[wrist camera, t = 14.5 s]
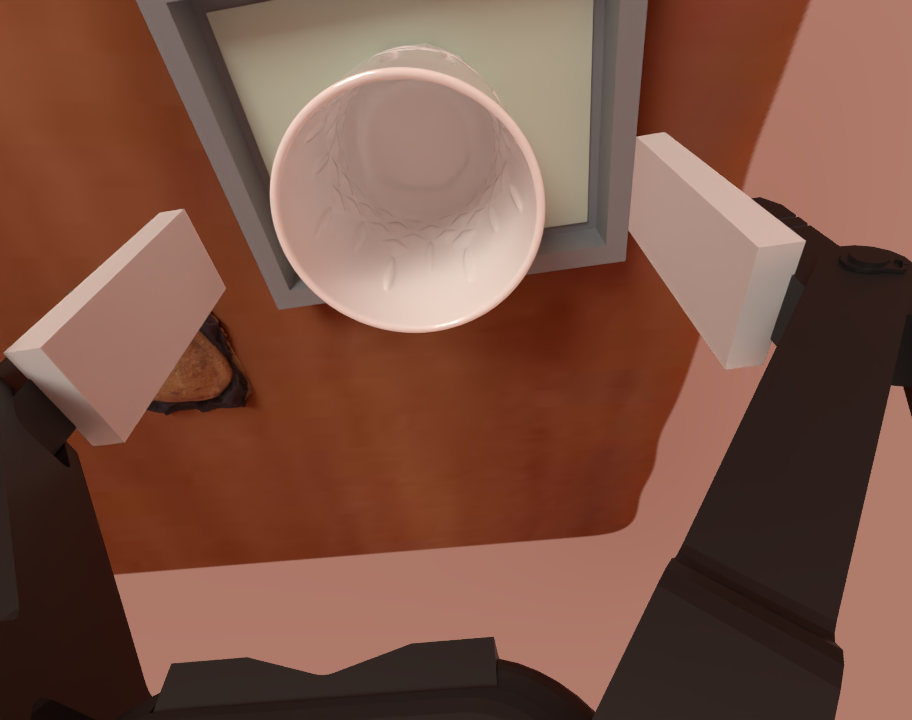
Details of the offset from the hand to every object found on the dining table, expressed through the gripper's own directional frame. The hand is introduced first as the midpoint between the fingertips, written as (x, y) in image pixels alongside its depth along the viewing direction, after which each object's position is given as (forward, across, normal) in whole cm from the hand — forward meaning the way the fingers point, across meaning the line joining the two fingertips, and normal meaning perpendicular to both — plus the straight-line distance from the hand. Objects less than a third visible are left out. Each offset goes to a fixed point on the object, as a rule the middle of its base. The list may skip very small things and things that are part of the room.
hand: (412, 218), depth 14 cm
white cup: (+10, 0, 0) cm, 10 cm away
